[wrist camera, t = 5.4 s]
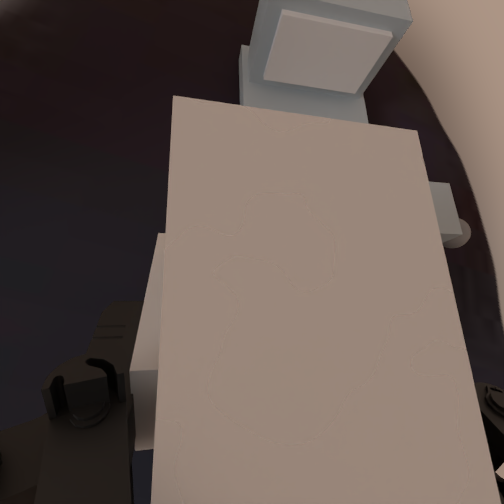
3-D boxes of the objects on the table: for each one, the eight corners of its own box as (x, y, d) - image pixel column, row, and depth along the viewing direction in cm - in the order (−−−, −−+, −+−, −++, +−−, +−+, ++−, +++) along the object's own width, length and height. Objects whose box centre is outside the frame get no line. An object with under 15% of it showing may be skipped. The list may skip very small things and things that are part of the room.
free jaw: (264, 263, 20) (299, 226, 14) (262, 215, 21) (293, 160, 15) (432, 267, 23) (523, 237, 17) (423, 224, 24) (505, 181, 18)
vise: (244, 277, 21) (279, 235, 13) (238, 55, 27) (259, -61, 20) (398, 279, 24) (501, 245, 16) (360, 76, 30) (421, -19, 22)
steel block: (171, 457, 13) (117, 1114, 2) (178, 277, 15) (173, 95, 4) (260, 447, 14) (581, 856, 3) (254, 278, 16) (417, 130, 5)
